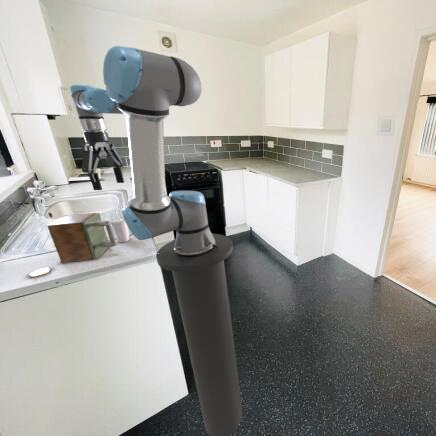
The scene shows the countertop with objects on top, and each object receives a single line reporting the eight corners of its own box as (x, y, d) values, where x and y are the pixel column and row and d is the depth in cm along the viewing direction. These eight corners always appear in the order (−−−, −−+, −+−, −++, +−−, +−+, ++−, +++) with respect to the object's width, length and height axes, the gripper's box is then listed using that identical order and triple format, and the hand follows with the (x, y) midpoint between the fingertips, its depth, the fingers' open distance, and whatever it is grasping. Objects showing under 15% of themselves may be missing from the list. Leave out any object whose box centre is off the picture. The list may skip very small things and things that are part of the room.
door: (127, 244, 103) (118, 211, 98) (117, 256, 93) (106, 220, 88) (106, 246, 102) (96, 213, 97) (93, 259, 92) (81, 222, 87)
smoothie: (113, 244, 103) (104, 213, 99) (117, 238, 109) (109, 209, 104) (131, 242, 106) (123, 211, 101) (134, 236, 111) (126, 207, 106)
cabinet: (106, 246, 102) (95, 212, 96) (92, 259, 92) (80, 222, 86) (78, 249, 99) (66, 215, 94) (61, 263, 89) (46, 225, 84)
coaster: (53, 268, 86) (53, 267, 86) (44, 276, 82) (43, 274, 81) (36, 270, 85) (36, 269, 85) (26, 278, 80) (25, 277, 80)
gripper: (107, 131, 105) (120, 180, 112) (56, 131, 81) (76, 193, 89) (125, 131, 105) (136, 180, 112) (78, 131, 81) (97, 193, 89)
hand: (110, 186), depth 100 cm, fingers open, 13 cm apart
